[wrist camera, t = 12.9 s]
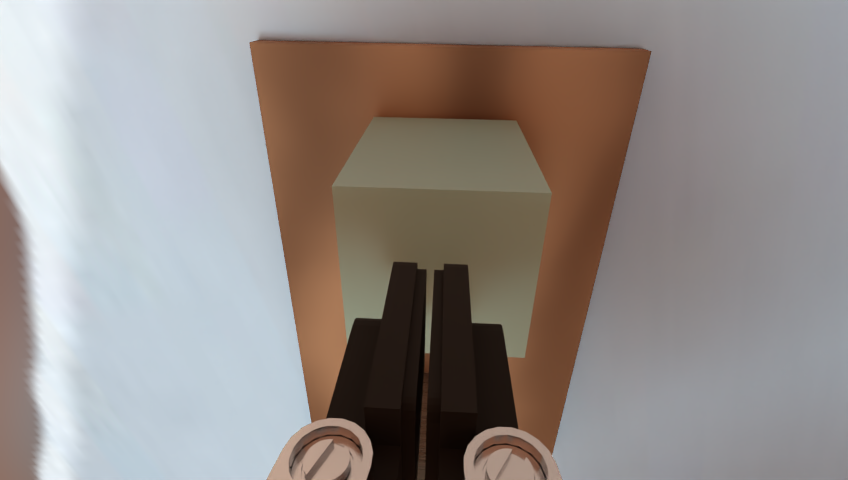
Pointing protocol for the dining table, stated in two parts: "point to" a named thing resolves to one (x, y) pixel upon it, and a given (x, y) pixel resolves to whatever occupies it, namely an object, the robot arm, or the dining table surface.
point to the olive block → (443, 217)
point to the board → (450, 99)
